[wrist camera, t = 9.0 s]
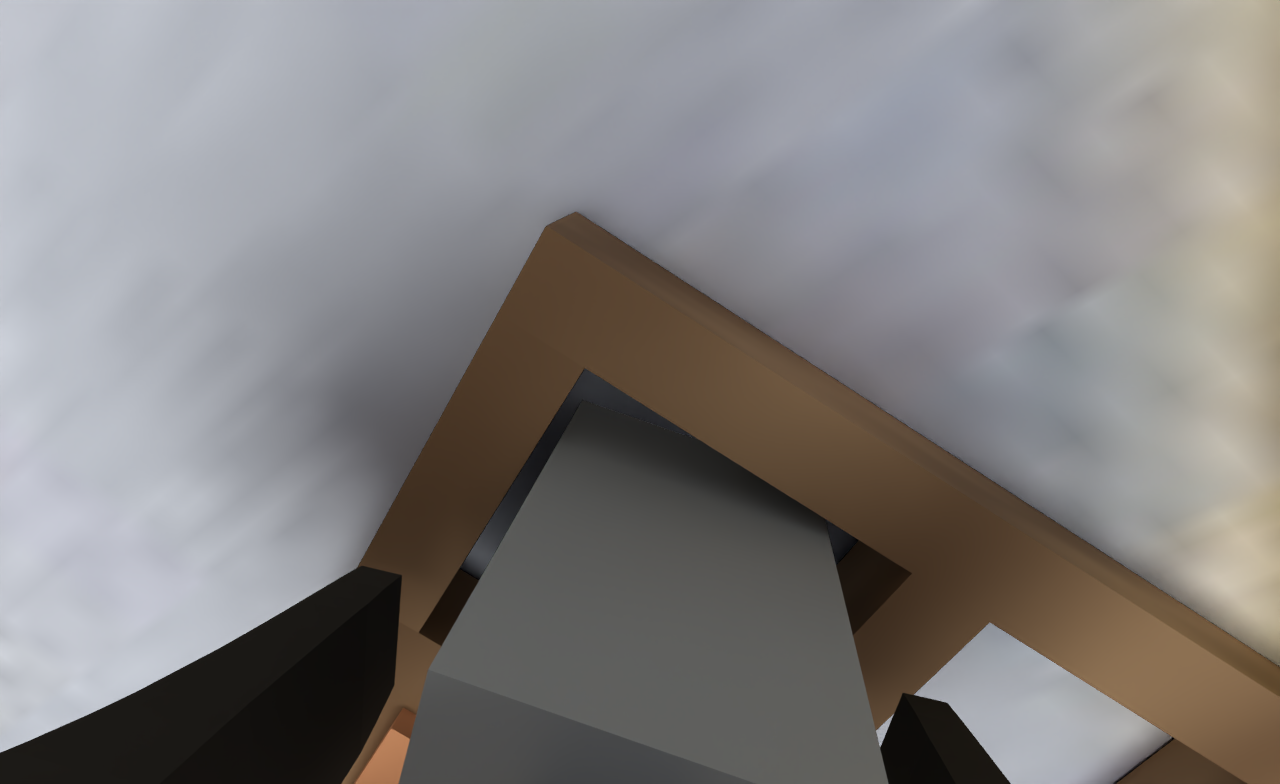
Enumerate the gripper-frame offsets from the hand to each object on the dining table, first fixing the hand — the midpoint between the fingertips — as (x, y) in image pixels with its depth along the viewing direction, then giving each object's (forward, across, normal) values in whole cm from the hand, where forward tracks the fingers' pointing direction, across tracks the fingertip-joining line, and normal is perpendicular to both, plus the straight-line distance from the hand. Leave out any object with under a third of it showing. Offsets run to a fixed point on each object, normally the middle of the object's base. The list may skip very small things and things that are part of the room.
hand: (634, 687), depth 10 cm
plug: (+4, 0, 0) cm, 4 cm away
